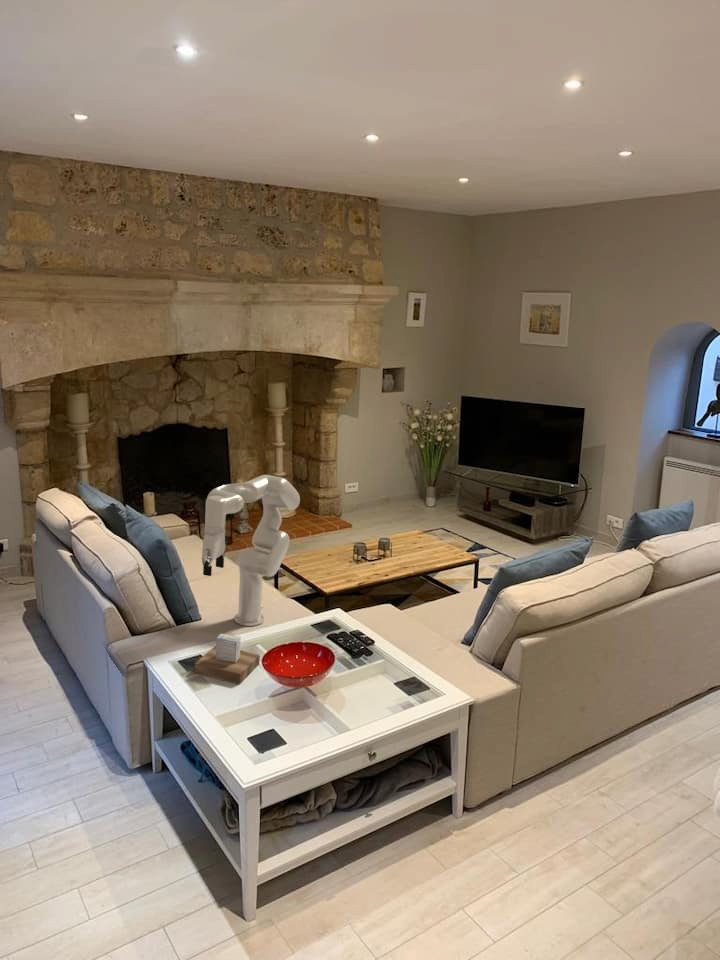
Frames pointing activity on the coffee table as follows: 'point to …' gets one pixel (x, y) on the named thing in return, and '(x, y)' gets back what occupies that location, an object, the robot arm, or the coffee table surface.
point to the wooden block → (227, 666)
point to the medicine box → (227, 648)
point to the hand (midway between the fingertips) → (213, 571)
